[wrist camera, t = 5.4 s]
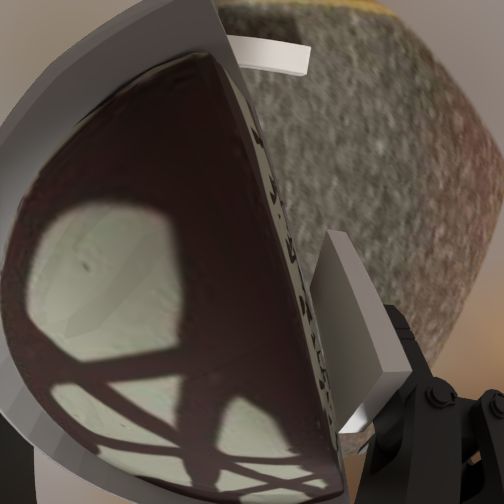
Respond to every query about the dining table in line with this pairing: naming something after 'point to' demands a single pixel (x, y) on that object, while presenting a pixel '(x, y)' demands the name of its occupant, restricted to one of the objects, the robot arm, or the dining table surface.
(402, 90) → the dining table surface
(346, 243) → the robot arm
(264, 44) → the pair of white blocks
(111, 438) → the food container
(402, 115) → the dining table surface
